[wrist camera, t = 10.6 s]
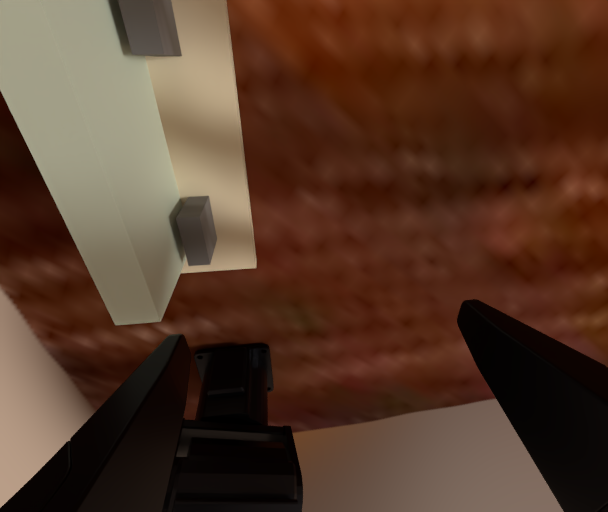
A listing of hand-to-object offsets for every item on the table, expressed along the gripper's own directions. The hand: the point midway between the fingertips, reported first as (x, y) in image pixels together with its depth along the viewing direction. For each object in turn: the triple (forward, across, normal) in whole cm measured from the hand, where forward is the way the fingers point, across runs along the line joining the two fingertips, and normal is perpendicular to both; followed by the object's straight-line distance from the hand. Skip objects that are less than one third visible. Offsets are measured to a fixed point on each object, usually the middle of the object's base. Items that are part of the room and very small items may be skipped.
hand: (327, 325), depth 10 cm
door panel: (+11, +8, -4) cm, 14 cm away
